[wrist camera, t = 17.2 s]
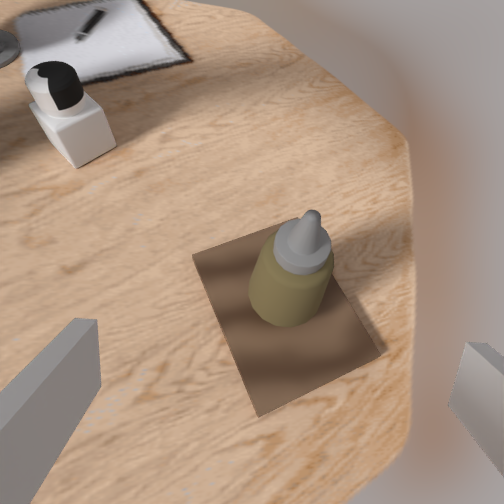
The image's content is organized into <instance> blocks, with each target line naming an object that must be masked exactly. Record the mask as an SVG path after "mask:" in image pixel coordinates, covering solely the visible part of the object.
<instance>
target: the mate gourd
mask: <svg viewBox="0 0 504 504" xmlns="http://www.w3.org/2000/svg"><path fill="white" fill-rule="evenodd" d="M19 52H20V44H19V42H18V40H17V39H16V37H15V36H14V35H13V34H11V33H9V32H7V31H4V30H0V68H2V67H4V66H6V65H8V64H9V63H11V62H12V61H13V60H14V59H15V58H16V57H17V56H18V54H19Z"/></svg>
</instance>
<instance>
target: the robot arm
mask: <svg viewBox="0 0 504 504" xmlns="http://www.w3.org/2000/svg"><path fill="white" fill-rule="evenodd" d="M100 388H101V373H100V357H99V341H98V325H97V319H81V318H74V319H73V320H72V321H71V322H70V323H69V324H68V325H67V326H66V327H65V328H64V329H63V330H62V331H61V332H60V333H59V334H58V335H57V336H56V337H55V338H54V339H53V340H52V341H51V342H50V343H49V344H48V345H47V346H46V347H45V348H44V349H43V350H42V351H41V352H40V353H39V354H38V355H37V356H36V357H35V358H34V359H33V360H32V361H31V362H30V363H29V364H28V365H27V366H26V367H25V368H24V369H23V370H22V371H21V372H20V373H19V374H18V375H17V376H16V377H15V378H14V379H13V380H12V381H11V382H10V383H9V384H8V385H7V386H6V387H5V388H4V389H3V390H2V391H1V392H0V504H30V502H31V501H32V499H33V497H34V496H35V494H36V493H37V491H38V489H39V488H40V486H41V484H42V483H43V481H44V479H45V478H46V476H47V474H48V473H49V471H50V470H51V468H52V466H53V465H54V463H55V461H56V460H57V458H58V456H59V455H60V453H61V452H62V450H63V448H64V447H65V445H66V443H67V442H68V440H69V438H70V437H71V435H72V433H73V432H74V430H75V429H76V427H77V425H78V424H79V422H80V420H81V419H82V417H83V415H84V414H85V412H86V411H87V409H88V407H89V406H90V404H91V402H92V401H93V399H94V397H95V396H96V394H97V392H98V391H99V389H100ZM448 406H449V407H450V409H451V410H452V411H453V412H454V414H455V415H456V416H457V417H458V419H459V420H460V422H461V423H462V424H463V425H464V427H465V428H466V429H467V431H468V432H469V433H470V434H471V436H472V437H473V438H474V440H475V441H476V442H477V443H478V445H479V446H480V447H481V448H482V450H483V451H484V452H485V454H486V455H487V456H488V458H489V459H490V460H491V461H492V463H493V464H494V465H495V467H496V468H497V469H498V471H499V472H500V473H501V475H502V476H503V477H504V357H503V356H502V355H500V354H499V353H498V352H497V351H496V350H495V349H493V348H492V347H491V346H490V345H488V344H487V343H475V342H466V345H465V348H464V351H463V355H462V358H461V362H460V366H459V369H458V372H457V375H456V379H455V382H454V385H453V389H452V392H451V396H450V399H449V402H448Z"/></svg>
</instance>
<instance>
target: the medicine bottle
mask: <svg viewBox="0 0 504 504" xmlns="http://www.w3.org/2000/svg"><path fill="white" fill-rule="evenodd" d="M25 84H26V86H27V88H28V89H29V91H30V93H31V94H32V96H33V98H34V100H35V101H34V102H32V103H30V104H29V107H30V109H31V111H32V112H33V114H34V116H35V117H36V119H37V120H38V122H39V124H40V125H41V127H42V129H43V130H44V132H45V134H46V135H47V137H48V139H49V140H50V142H51V143H52V144H53V145H54V146H55V148H56V149H57V150H58V151H59V152H60V153H61V154H62V155H63V156H64V157H65V158H66V159H67V160H68V161H69V162H70V164H71V165H72V166H73V167H74V168H79V167H81V166H82V165H84V164H86V163H88V162H89V161H91V160H93V159H95V158H97V157H98V156H100V155H102V154H104V153H106V152H107V151H109V150H111V149H113V148H114V147H116V146H117V144H116V142H115V139H114V137H113V134H112V131H111V129H110V126H109V124H108V121H107V118H106V116H105V113H104V111H103V108H102V107H101V106H100V105H99V104H97V103H96V102H95V101H94V100H93V99H92V98H91V97H90V96H89V95H88V94H87V93H86V92H84V90H83V87H82V85H81V83H80V80H79V78H78V75H77V73H76V71H75V69H74V68H73V67H72V66H70V65H68V64H66V63H64V62H59V61H48V62H43V63H40V64H38V65H36V66H34V67H32V68H31V69H30V70H29V71H28V73H27V74H26V77H25Z"/></svg>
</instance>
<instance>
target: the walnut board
mask: <svg viewBox="0 0 504 504" xmlns="http://www.w3.org/2000/svg"><path fill="white" fill-rule="evenodd" d="M294 219H298V217H297V218H294ZM294 219H291V220H294ZM288 221H290V220H288ZM288 221H285V222H283V223H280V224H277V225H274V226H271V227H269V228H266V229H263V230H260V231H257V232H255V233H252V234H249V235H246V236H243V237H241V238H238V239H235V240H232V241H229V242H227V243H224V244H221V245H218V246H215V247H213V248H210V249H207V250H204V251H201V252H199V253H196V254H193V255H192V257H193V261H194V264H195V266H196V268H197V271H198V273H199V276H200V278H201V281H202V283H203V285H204V288H205V290H206V293H207V295H208V297H209V300H210V302H211V305H212V307H213V310H214V312H215V314H216V317H217V319H218V322H219V324H220V326H221V329H222V331H223V334H224V336H225V339H226V341H227V343H228V346H229V348H230V351H231V353H232V356H233V358H234V360H235V363H236V365H237V368H238V370H239V372H240V375H241V377H242V380H243V382H244V385H245V387H246V389H247V392H248V394H249V397H250V399H251V402H252V404H253V406H254V409H255V411H256V414H257V416H258V417H260V416H262V415H264V414H266V413H268V412H270V411H272V410H274V409H276V408H278V407H280V406H282V405H284V404H286V403H288V402H290V401H292V400H294V399H296V398H298V397H300V396H302V395H304V394H306V393H308V392H310V391H312V390H314V389H316V388H318V387H320V386H322V385H324V384H326V383H328V382H330V381H332V380H334V379H336V378H338V377H340V376H342V375H344V374H346V373H348V372H350V371H352V370H354V369H356V368H358V367H360V366H362V365H364V364H366V363H368V362H370V361H372V360H374V359H376V358H378V357H380V356H381V354H380V353H379V351H378V349H377V348H376V346H375V344H374V343H373V341H372V339H371V338H370V336H369V335H368V333H367V331H366V330H365V328H364V326H363V325H362V323H361V321H360V320H359V318H358V316H357V315H356V313H355V311H354V310H353V308H352V306H351V305H350V303H349V301H348V300H347V298H346V296H345V295H344V293H343V291H342V290H341V288H340V287H339V285H338V283H337V282H336V280H335V278H334V277H333V275H332V274H331V276H330V279H329V282H328V285H327V287H326V290H325V293H324V296H323V299H322V301H321V304H320V306H319V308H318V310H317V313H316V314H315V315H314V316H313V317H312V318H311V319H310V320H308V321H307V322H306V323H304V324H301V325H298V326H295V327H281V326H275V325H273V324H271V323H269V322H267V321H265V320H263V319H262V318H261V317H260V316H259V315H258V313H257V312H256V311H255V310H254V309H253V307H252V304H251V301H250V298H249V295H248V290H249V280H250V278H251V275H252V273H253V270H254V268H255V265H256V262H257V260H258V257H259V255H260V252H261V249H262V247H263V245H264V243H265V242H266V240H267V238H268V236H270V235H271V234H272V233H274V232H275V231H277V230H278V229H279V228H280V227H281V226H282V225H283V224H285V223H286V222H288Z"/></svg>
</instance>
